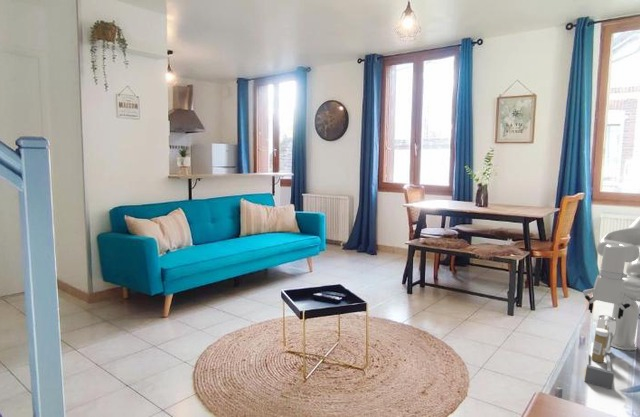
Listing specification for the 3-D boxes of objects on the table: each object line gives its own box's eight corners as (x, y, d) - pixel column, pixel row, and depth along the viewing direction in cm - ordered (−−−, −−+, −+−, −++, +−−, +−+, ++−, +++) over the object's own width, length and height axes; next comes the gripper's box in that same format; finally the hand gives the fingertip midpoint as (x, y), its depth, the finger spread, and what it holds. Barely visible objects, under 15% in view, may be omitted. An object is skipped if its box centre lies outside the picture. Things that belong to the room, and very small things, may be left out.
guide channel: (585, 353, 184) (587, 340, 183) (609, 359, 180) (611, 346, 179) (584, 381, 161) (586, 366, 160) (611, 389, 157) (614, 374, 156)
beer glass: (595, 352, 185) (600, 319, 183) (591, 345, 192) (596, 313, 189) (614, 355, 183) (619, 322, 181) (609, 348, 189) (614, 316, 187)
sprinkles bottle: (606, 363, 176) (611, 332, 174) (595, 362, 176) (600, 332, 174) (598, 357, 181) (603, 327, 179) (588, 357, 180) (593, 327, 178)
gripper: (636, 276, 171) (629, 317, 174) (586, 268, 180) (580, 306, 183) (638, 281, 165) (631, 323, 167) (586, 272, 174) (580, 312, 176)
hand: (604, 314), depth 175 cm, fingers open, 9 cm apart
